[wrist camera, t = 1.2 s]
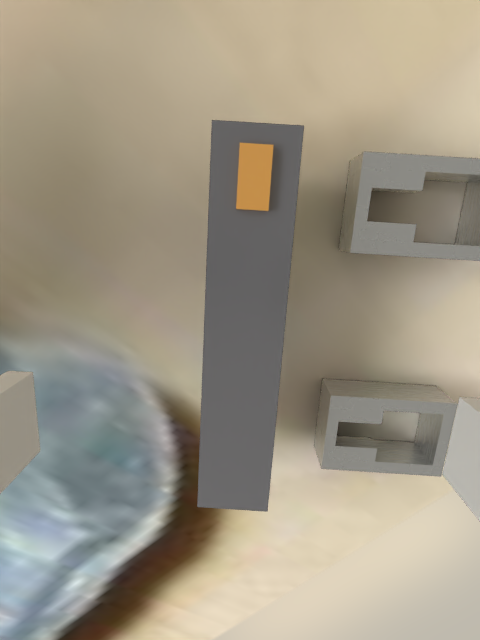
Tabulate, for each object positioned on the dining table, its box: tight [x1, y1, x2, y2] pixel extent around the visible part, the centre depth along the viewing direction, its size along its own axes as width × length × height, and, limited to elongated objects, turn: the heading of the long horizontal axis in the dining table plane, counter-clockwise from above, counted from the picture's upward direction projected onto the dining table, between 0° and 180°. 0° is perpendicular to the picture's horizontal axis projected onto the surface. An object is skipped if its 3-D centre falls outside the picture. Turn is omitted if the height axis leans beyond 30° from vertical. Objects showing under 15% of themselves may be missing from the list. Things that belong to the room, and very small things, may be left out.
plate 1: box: [314, 379, 458, 476], centre depth 28 cm, size 9×6×3 cm, turn 86°
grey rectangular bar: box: [197, 120, 304, 511], centre depth 23 cm, size 4×22×8 cm, turn 177°
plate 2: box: [339, 152, 480, 261], centre depth 24 cm, size 9×6×3 cm, turn 86°
